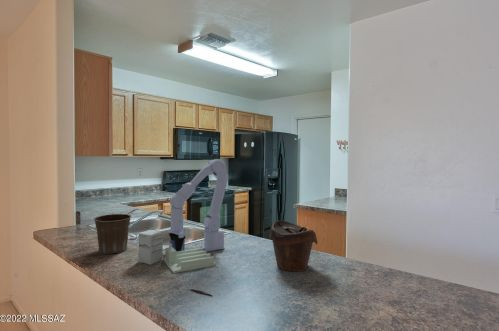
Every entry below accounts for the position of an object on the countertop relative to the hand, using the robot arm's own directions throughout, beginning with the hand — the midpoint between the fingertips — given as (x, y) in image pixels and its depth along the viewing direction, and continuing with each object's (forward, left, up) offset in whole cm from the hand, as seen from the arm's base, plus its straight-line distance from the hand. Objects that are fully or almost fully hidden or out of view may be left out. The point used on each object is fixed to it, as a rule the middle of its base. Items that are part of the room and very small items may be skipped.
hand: (176, 249), depth 137 cm
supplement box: (+13, +6, -2) cm, 14 cm away
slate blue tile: (0, 0, -2) cm, 2 cm away
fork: (+6, +42, -2) cm, 42 cm away
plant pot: (+26, -18, -2) cm, 31 cm away
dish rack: (-1, +16, -2) cm, 16 cm away
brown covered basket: (-38, +40, -2) cm, 55 cm away
